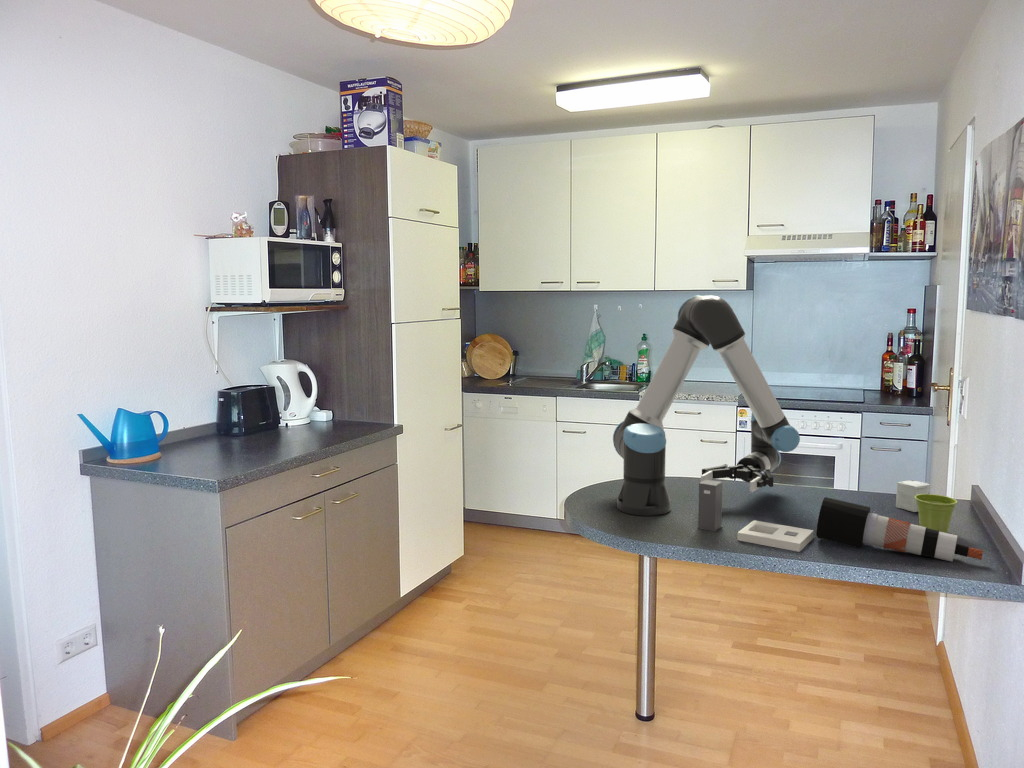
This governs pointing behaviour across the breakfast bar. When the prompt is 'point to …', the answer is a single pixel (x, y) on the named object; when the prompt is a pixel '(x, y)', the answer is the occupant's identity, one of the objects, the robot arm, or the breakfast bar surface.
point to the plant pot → (935, 511)
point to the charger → (710, 505)
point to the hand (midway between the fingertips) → (726, 483)
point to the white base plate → (776, 535)
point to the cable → (885, 532)
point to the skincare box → (910, 494)
